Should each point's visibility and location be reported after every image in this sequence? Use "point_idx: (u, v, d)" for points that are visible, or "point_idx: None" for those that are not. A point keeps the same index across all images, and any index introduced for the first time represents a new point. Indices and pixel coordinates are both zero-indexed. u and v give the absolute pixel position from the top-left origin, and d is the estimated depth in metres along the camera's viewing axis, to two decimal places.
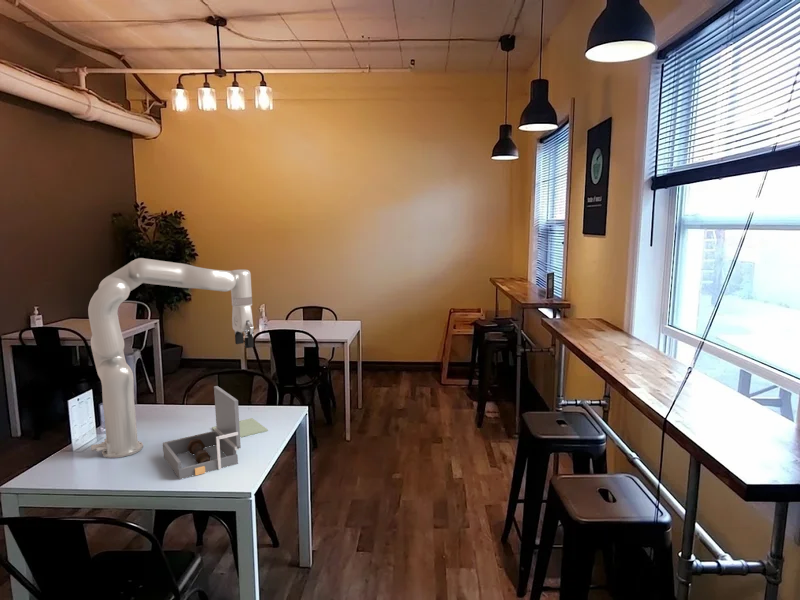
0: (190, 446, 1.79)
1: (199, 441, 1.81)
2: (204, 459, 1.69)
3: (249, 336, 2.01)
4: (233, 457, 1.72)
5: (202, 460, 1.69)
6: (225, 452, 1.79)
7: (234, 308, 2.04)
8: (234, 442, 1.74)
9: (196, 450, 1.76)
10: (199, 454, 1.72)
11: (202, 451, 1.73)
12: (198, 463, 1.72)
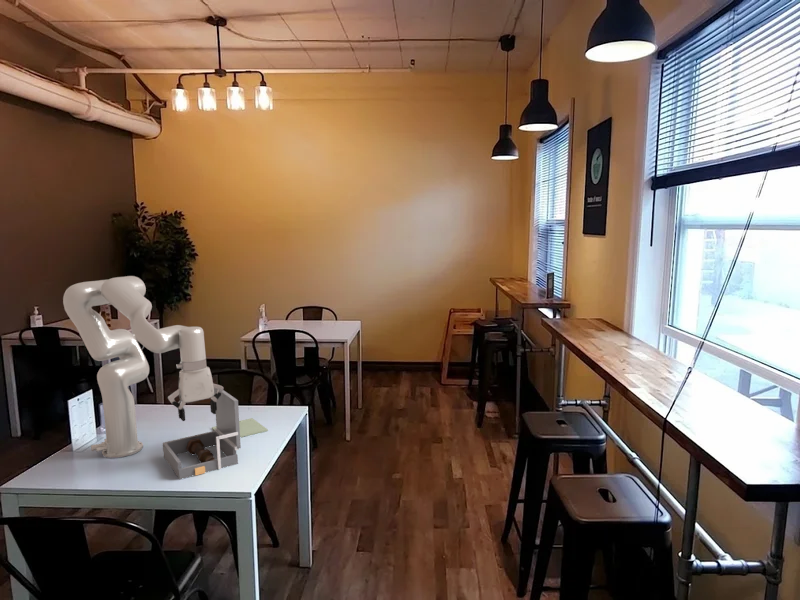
0: (190, 446, 1.79)
1: (198, 441, 1.81)
2: (208, 458, 1.70)
3: None
4: (233, 457, 1.72)
5: (206, 459, 1.70)
6: (225, 452, 1.79)
7: (193, 374, 1.69)
8: (234, 442, 1.74)
9: (197, 449, 1.76)
10: (202, 453, 1.72)
11: (205, 450, 1.74)
12: (201, 462, 1.72)
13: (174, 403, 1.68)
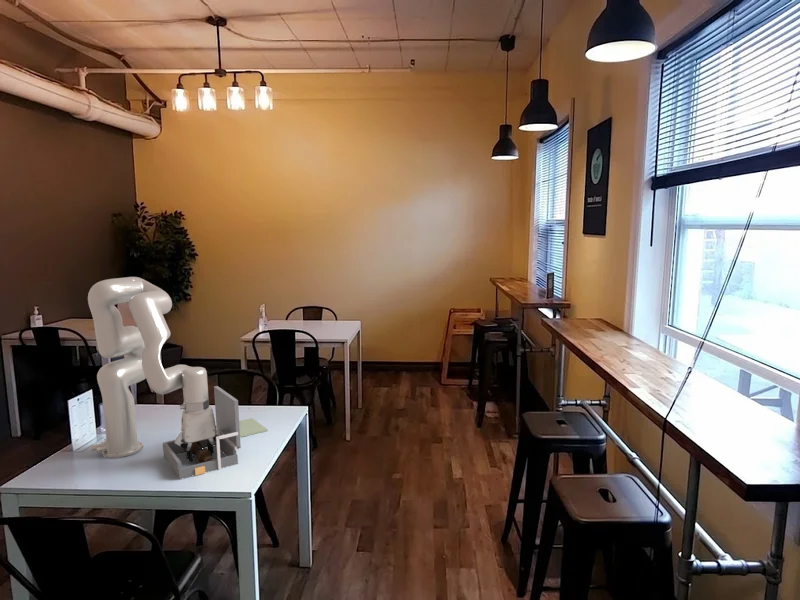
0: None
1: None
2: (207, 457, 1.70)
3: None
4: (233, 457, 1.72)
5: (205, 458, 1.70)
6: (225, 452, 1.79)
7: (196, 415, 1.71)
8: (234, 442, 1.74)
9: (195, 449, 1.76)
10: (201, 453, 1.72)
11: (203, 450, 1.73)
12: (200, 462, 1.72)
13: (182, 445, 1.71)
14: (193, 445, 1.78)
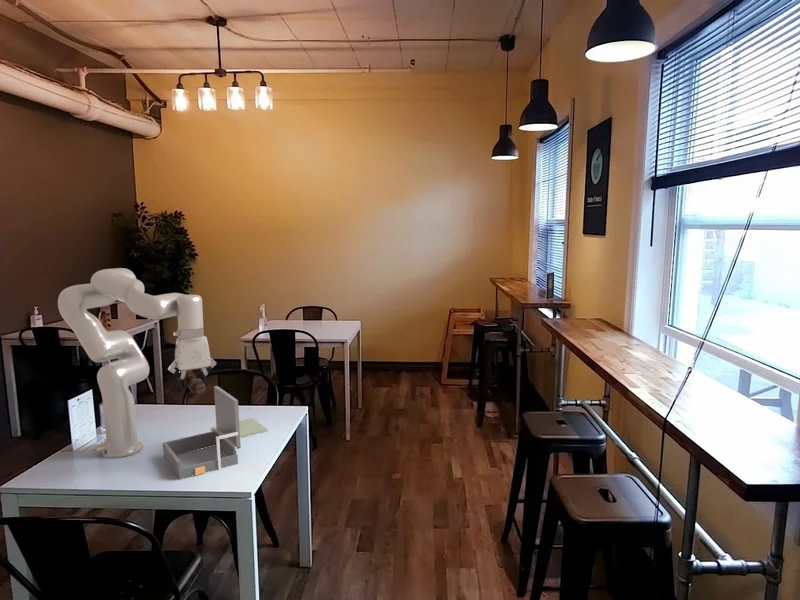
0: None
1: (190, 372, 1.78)
2: (199, 386, 1.67)
3: None
4: (233, 457, 1.72)
5: (197, 386, 1.67)
6: (225, 452, 1.79)
7: (190, 342, 1.68)
8: (234, 442, 1.74)
9: (189, 379, 1.73)
10: (193, 381, 1.69)
11: (196, 379, 1.70)
12: (192, 391, 1.69)
13: (176, 373, 1.68)
14: (187, 375, 1.76)
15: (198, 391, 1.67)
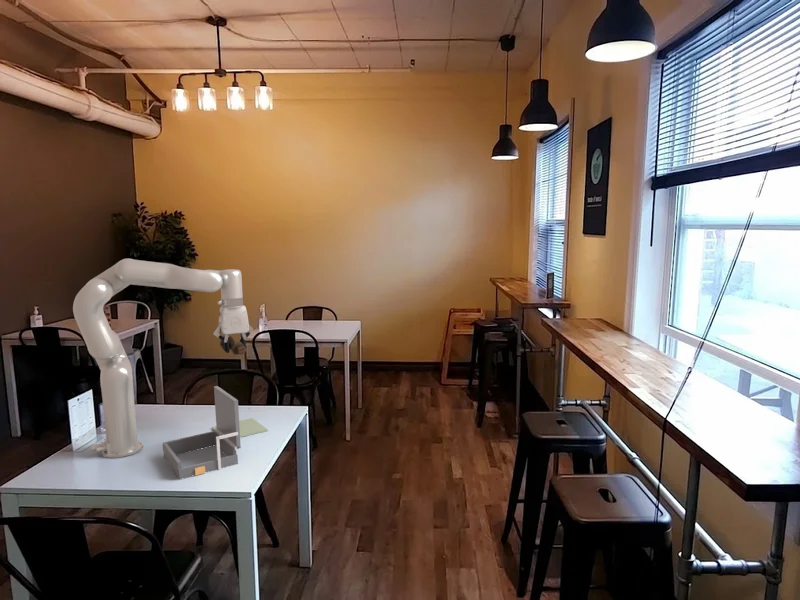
0: None
1: (230, 338, 2.04)
2: (241, 347, 1.93)
3: None
4: (233, 457, 1.72)
5: (239, 348, 1.93)
6: (225, 452, 1.79)
7: (232, 310, 1.94)
8: (234, 442, 1.74)
9: (230, 343, 1.99)
10: (235, 344, 1.95)
11: (237, 342, 1.96)
12: (234, 352, 1.95)
13: (220, 337, 1.94)
14: (228, 340, 2.02)
15: (240, 352, 1.93)
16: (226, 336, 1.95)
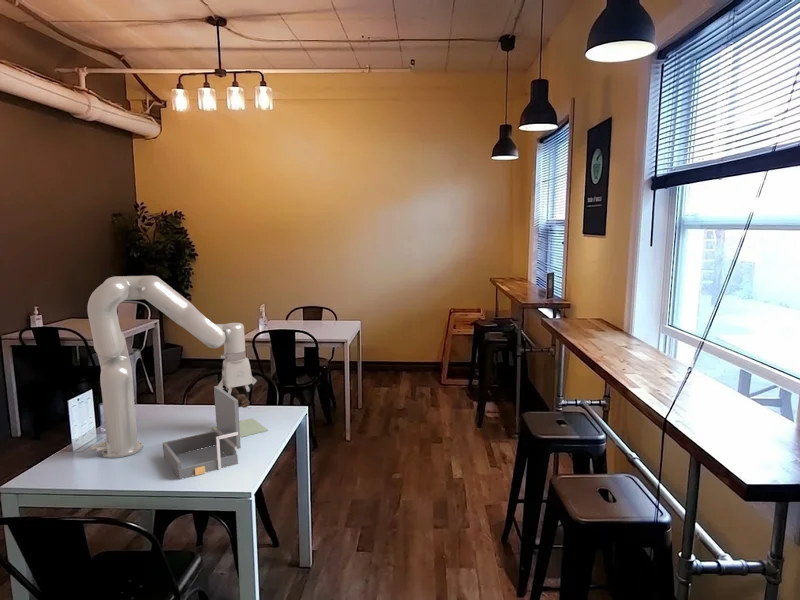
0: None
1: (234, 388, 2.06)
2: (244, 400, 1.96)
3: None
4: (233, 457, 1.72)
5: (242, 401, 1.95)
6: (225, 452, 1.79)
7: (235, 364, 1.97)
8: (234, 442, 1.74)
9: (234, 395, 2.01)
10: (238, 397, 1.98)
11: (240, 395, 1.99)
12: (238, 405, 1.98)
13: (224, 390, 1.97)
14: (231, 392, 2.04)
15: (243, 405, 1.95)
16: (229, 389, 1.98)
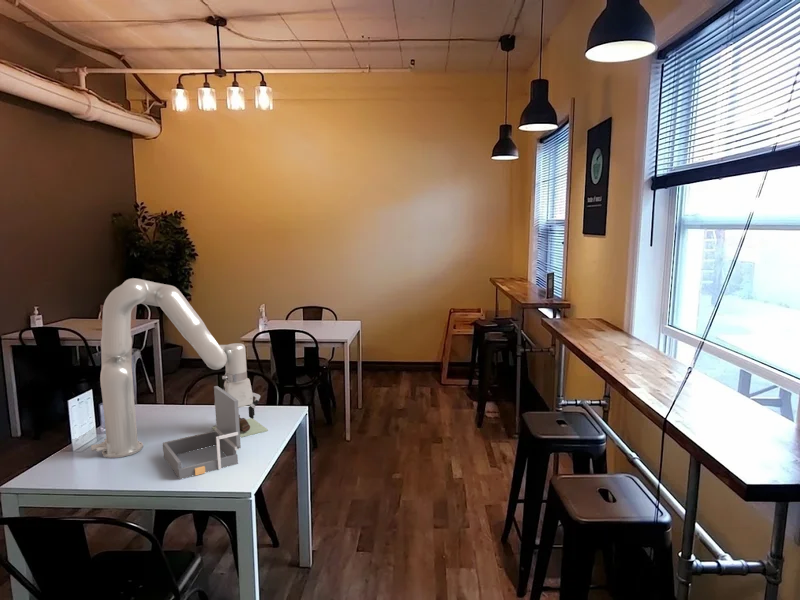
0: None
1: None
2: (245, 425, 1.97)
3: None
4: (233, 457, 1.72)
5: (243, 426, 1.97)
6: (225, 452, 1.79)
7: (236, 384, 1.98)
8: (234, 442, 1.74)
9: None
10: (239, 421, 1.99)
11: (241, 419, 2.00)
12: None
13: None
14: None
15: (244, 430, 1.97)
16: None
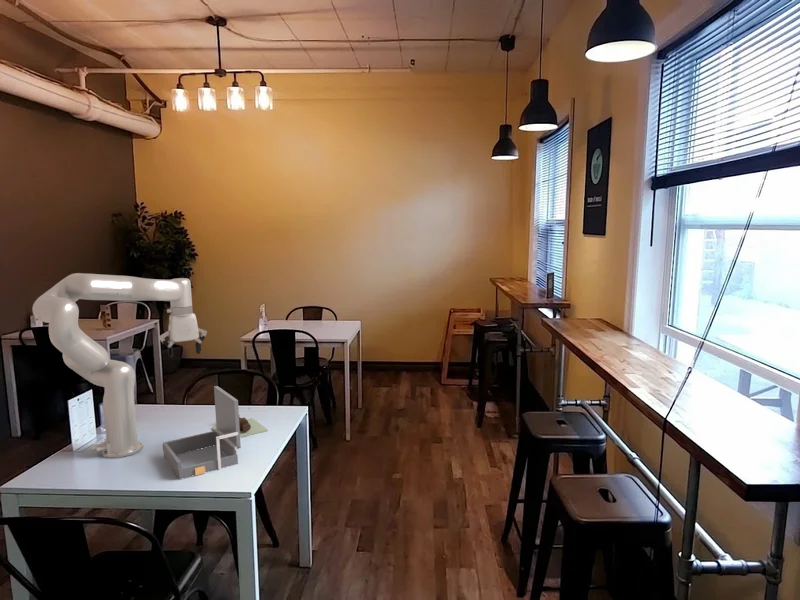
0: None
1: None
2: (245, 424, 1.97)
3: None
4: (233, 457, 1.72)
5: (244, 425, 1.97)
6: (225, 452, 1.79)
7: (181, 318, 1.99)
8: (234, 442, 1.74)
9: None
10: (240, 421, 1.99)
11: (242, 418, 2.00)
12: None
13: (164, 342, 1.98)
14: None
15: (245, 429, 1.97)
16: (172, 342, 1.99)
